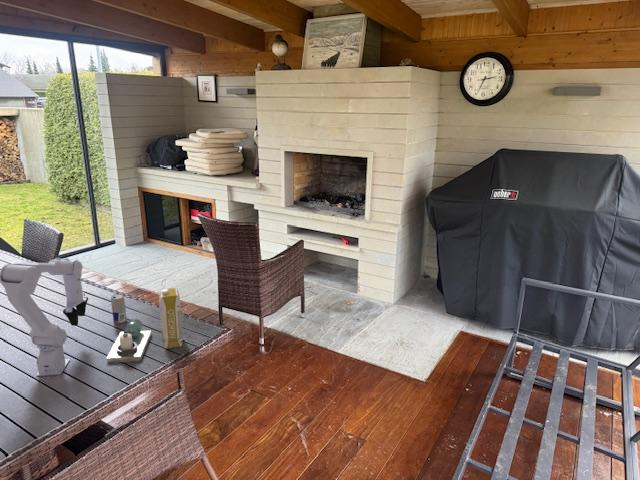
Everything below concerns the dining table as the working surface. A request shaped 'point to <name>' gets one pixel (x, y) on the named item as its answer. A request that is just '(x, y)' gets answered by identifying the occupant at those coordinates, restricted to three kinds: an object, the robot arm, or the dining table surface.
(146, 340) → the motor mount
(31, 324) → the robot arm
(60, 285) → the dining table surface
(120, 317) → the energy drink
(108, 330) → the dining table surface
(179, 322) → the juice carton
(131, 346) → the cream capsule cylinder
